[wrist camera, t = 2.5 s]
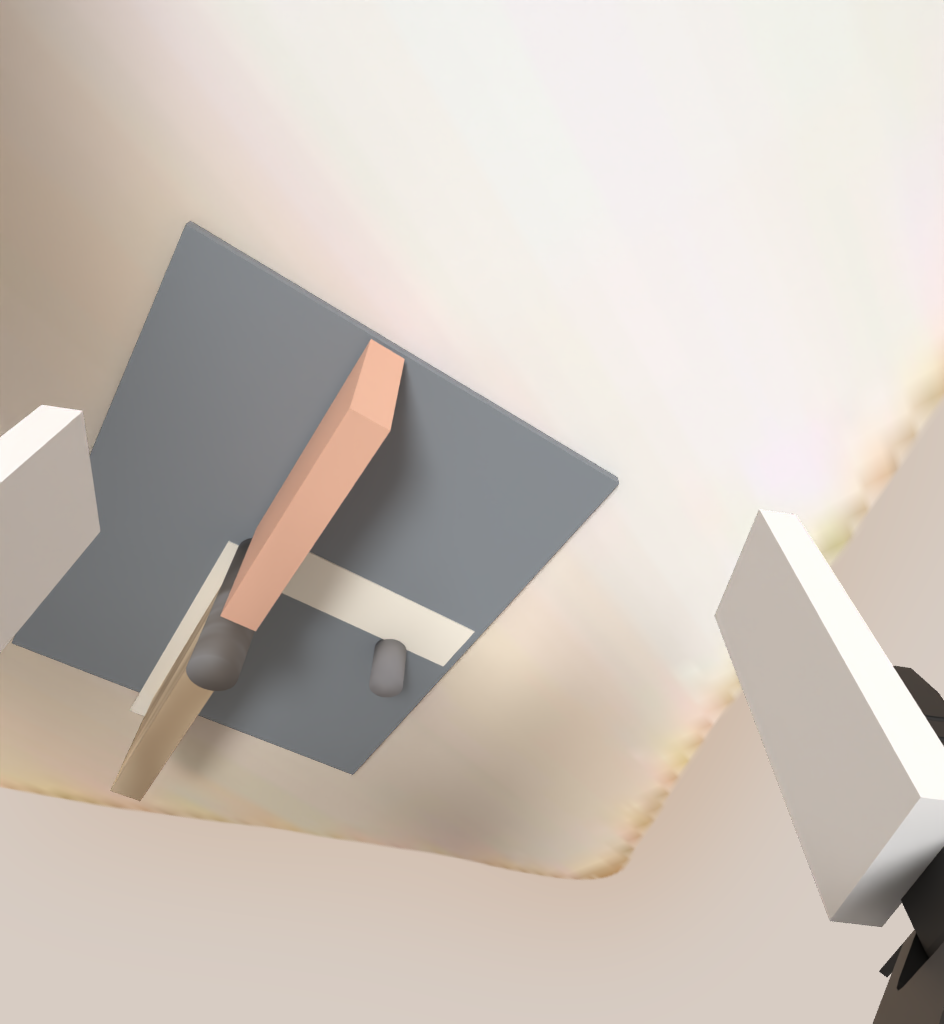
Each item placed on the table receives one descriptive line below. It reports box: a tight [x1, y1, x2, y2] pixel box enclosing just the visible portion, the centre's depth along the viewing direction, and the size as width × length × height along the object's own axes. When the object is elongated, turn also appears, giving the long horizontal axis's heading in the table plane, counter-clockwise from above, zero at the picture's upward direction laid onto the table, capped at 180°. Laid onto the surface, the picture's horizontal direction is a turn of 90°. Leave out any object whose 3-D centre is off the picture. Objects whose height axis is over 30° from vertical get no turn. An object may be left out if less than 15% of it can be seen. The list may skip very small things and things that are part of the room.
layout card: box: [12, 221, 619, 775], centre depth 42 cm, size 24×32×4 cm
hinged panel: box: [220, 339, 405, 631], centre depth 35 cm, size 2×13×7 cm, turn 147°
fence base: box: [110, 538, 255, 801], centre depth 42 cm, size 2×16×9 cm, turn 147°
